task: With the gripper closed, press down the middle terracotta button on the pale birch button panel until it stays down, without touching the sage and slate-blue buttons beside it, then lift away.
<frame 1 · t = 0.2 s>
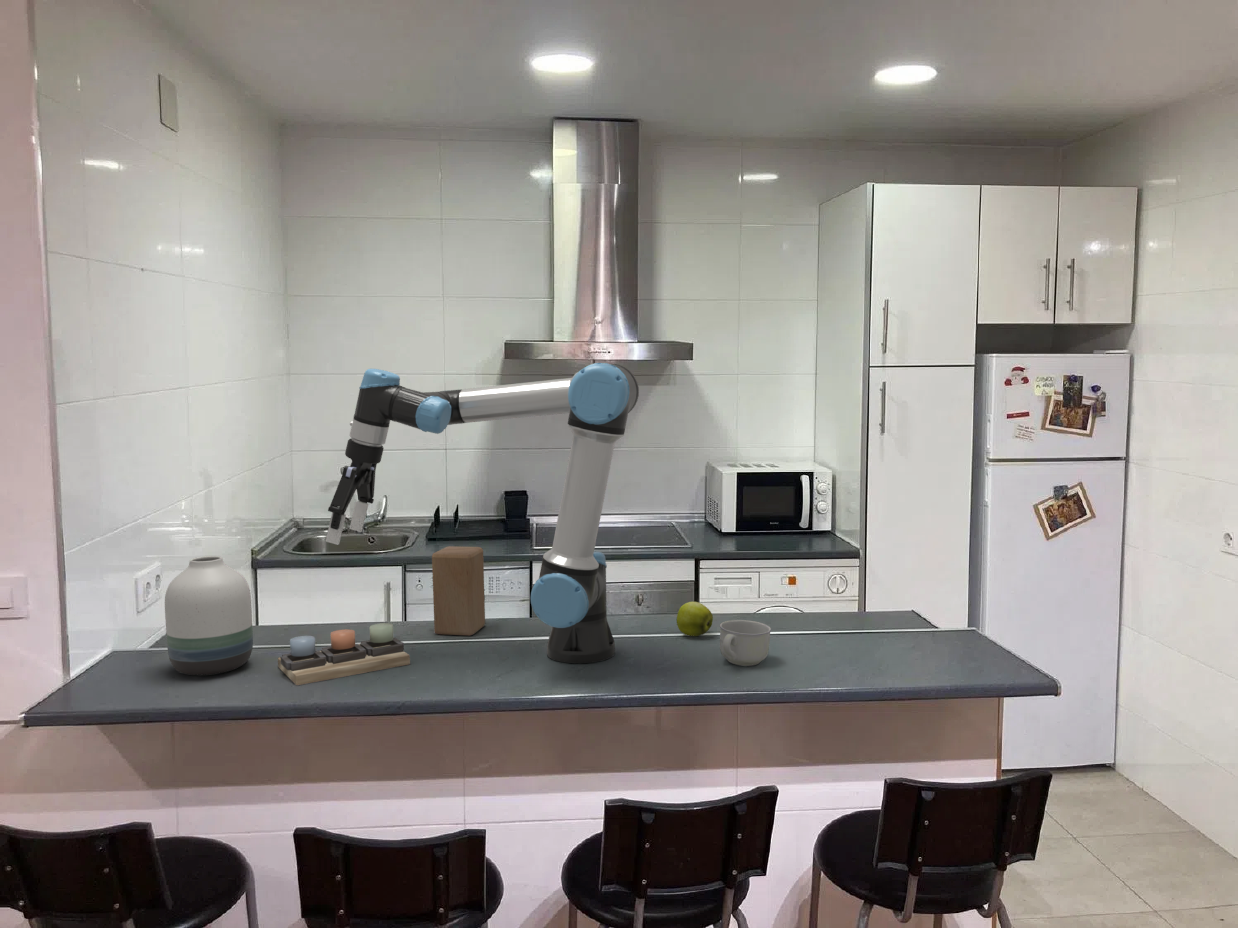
hand: (344, 536, 206), 28 cm above the counter, tool tilted 15°, fingers open, 13 cm apart
terracotta button: (343, 639, 206), point 6 cm above the counter, slide at 0.0 cm
button panel: (344, 665, 206), on the counter
apple: (693, 636, 226), on the counter
slate button: (302, 645, 201), point 6 cm above the counter, slide at 0.0 cm
sage button: (381, 632, 210), point 6 cm above the counter, slide at 0.0 cm
teacup: (740, 664, 204), on the counter
block: (460, 631, 233), on the counter
vase: (212, 669, 205), on the counter
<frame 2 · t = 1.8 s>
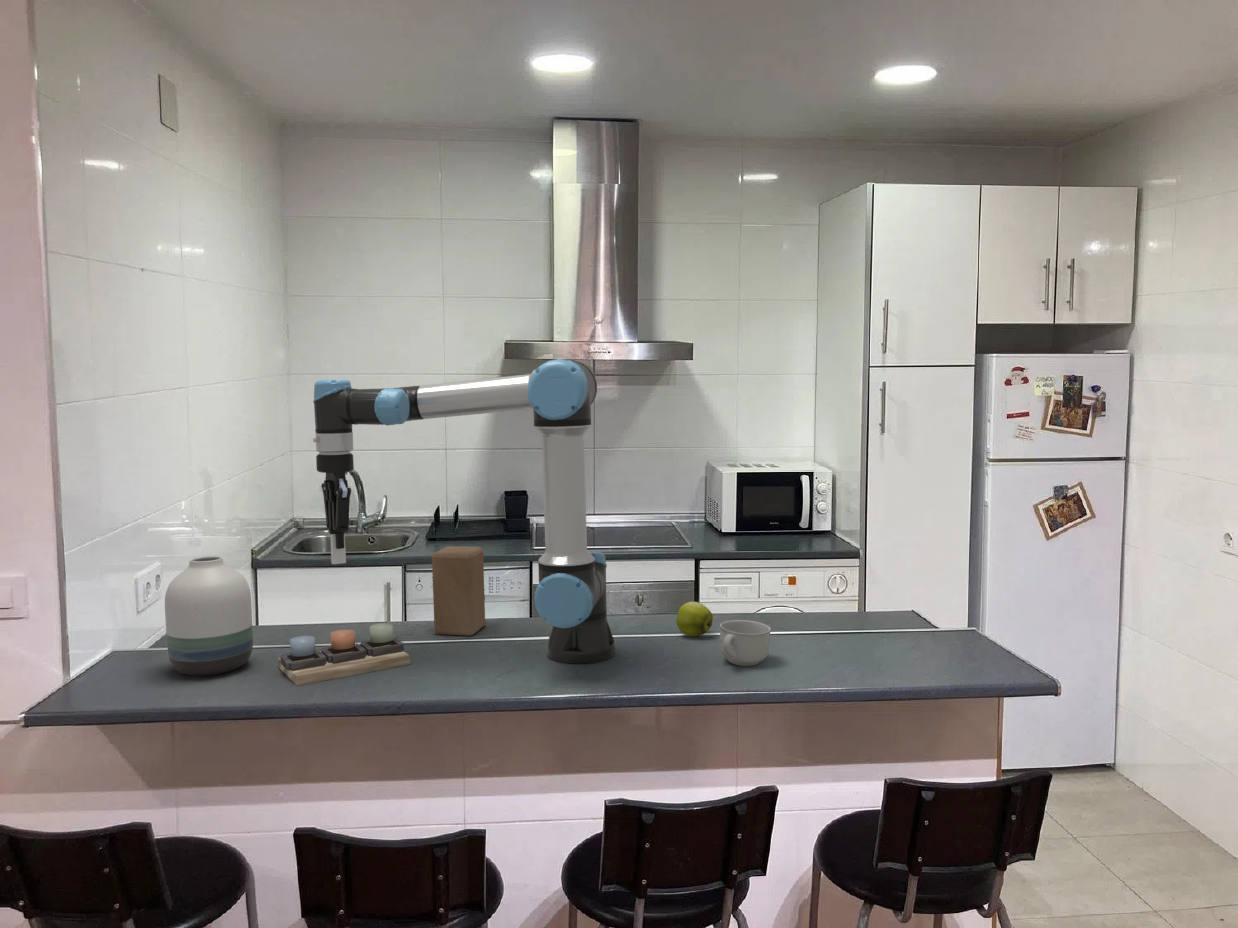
hand: (338, 562, 204), 22 cm above the counter, tool pointing down, fingers closed
nothing on the counter moved.
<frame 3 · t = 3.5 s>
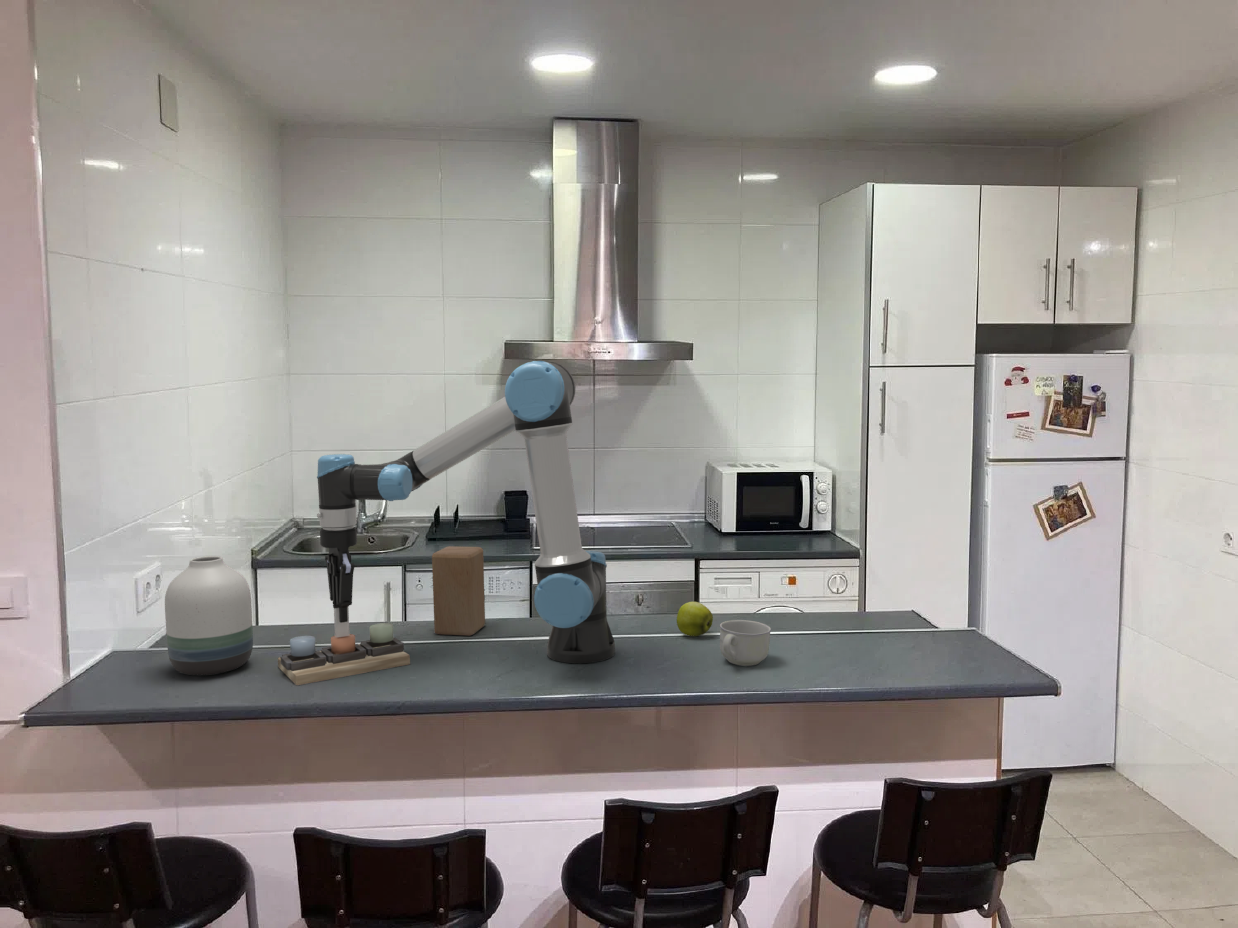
hand: (342, 635, 206), 7 cm above the counter, tool pointing down, fingers closed
terracotta button: (343, 643, 206), point 5 cm above the counter, slide at 1.0 cm, touching gripper
everything else where it was.
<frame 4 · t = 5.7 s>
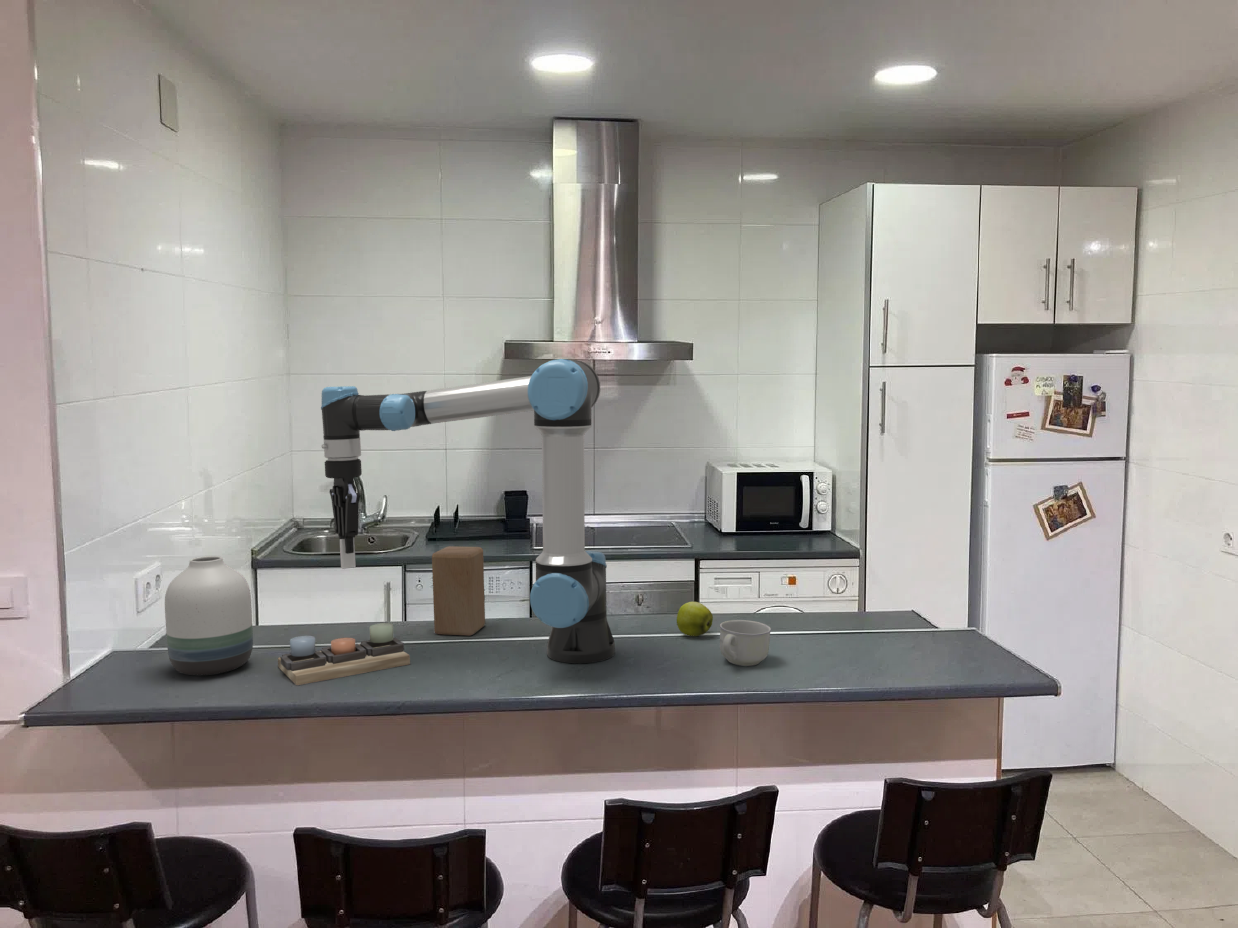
hand: (348, 567, 207), 21 cm above the counter, tool pointing down, fingers closed
terracotta button: (343, 647, 206), point 4 cm above the counter, slide at 1.8 cm
everything else where it was.
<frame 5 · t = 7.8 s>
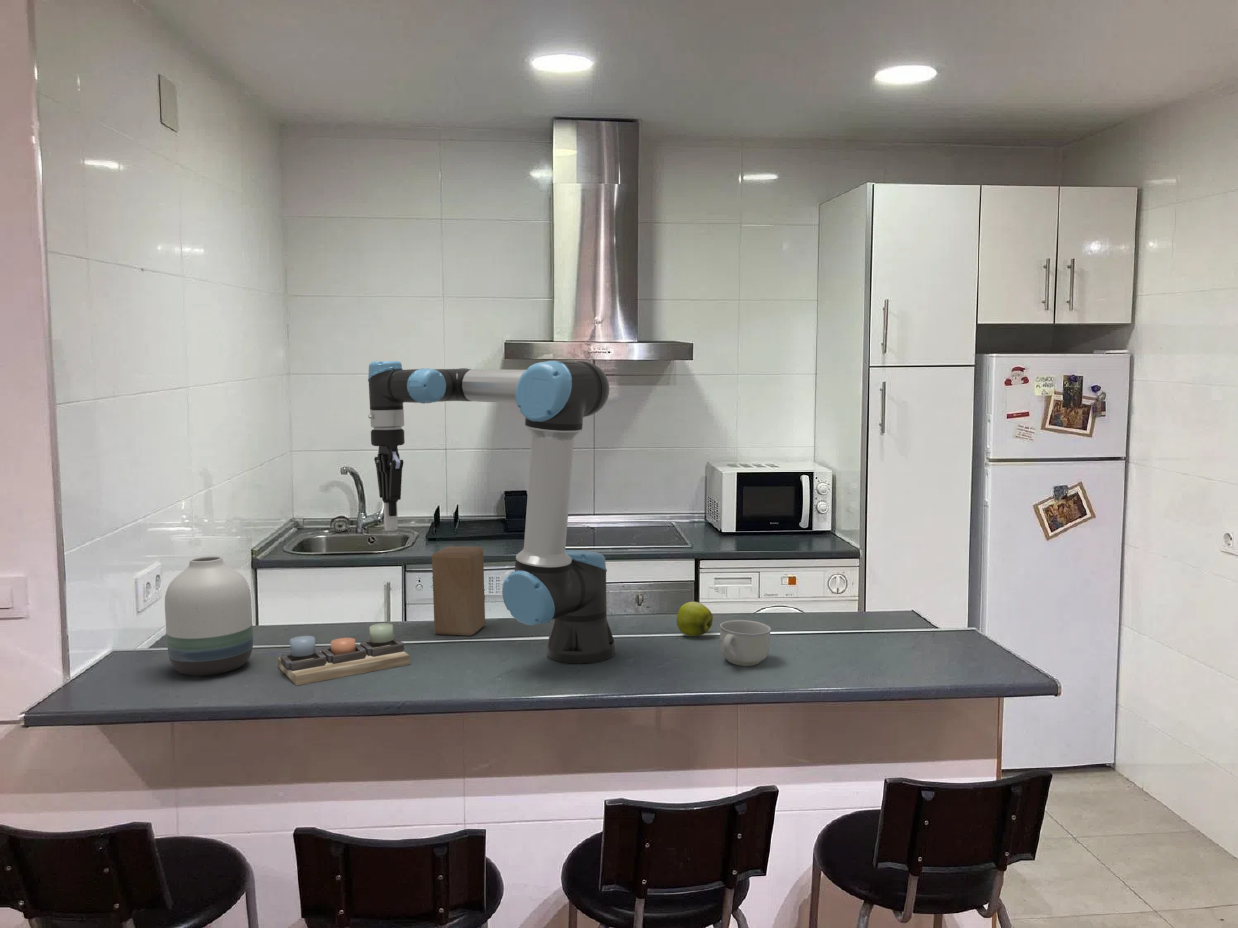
hand: (391, 529, 223), 26 cm above the counter, tool pointing down, fingers closed
nothing on the counter moved.
at the end: terracotta button slide at 1.8 cm; sage button slide at 0.0 cm; slate button slide at 0.0 cm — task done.
